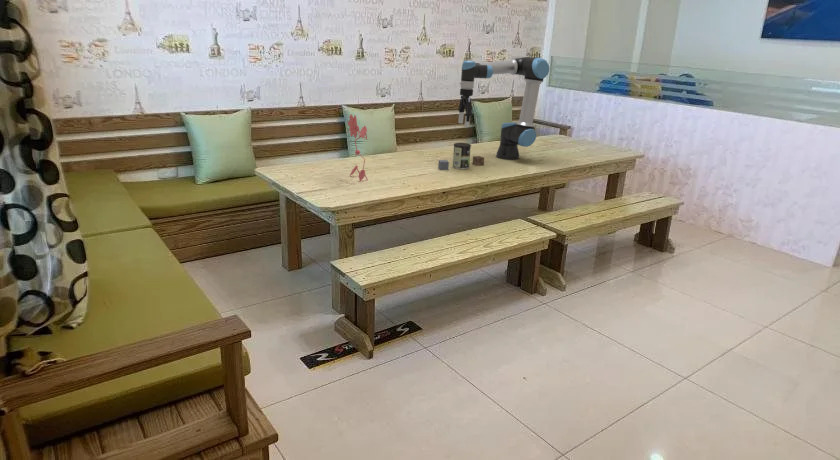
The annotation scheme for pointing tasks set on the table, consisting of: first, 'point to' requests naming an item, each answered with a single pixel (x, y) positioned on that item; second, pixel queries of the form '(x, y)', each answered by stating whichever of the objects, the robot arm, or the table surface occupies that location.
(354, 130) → the red plant
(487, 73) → the robot arm
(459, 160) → the coffee can
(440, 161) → the blue-gray block
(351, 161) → the table surface
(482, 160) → the walnut block
